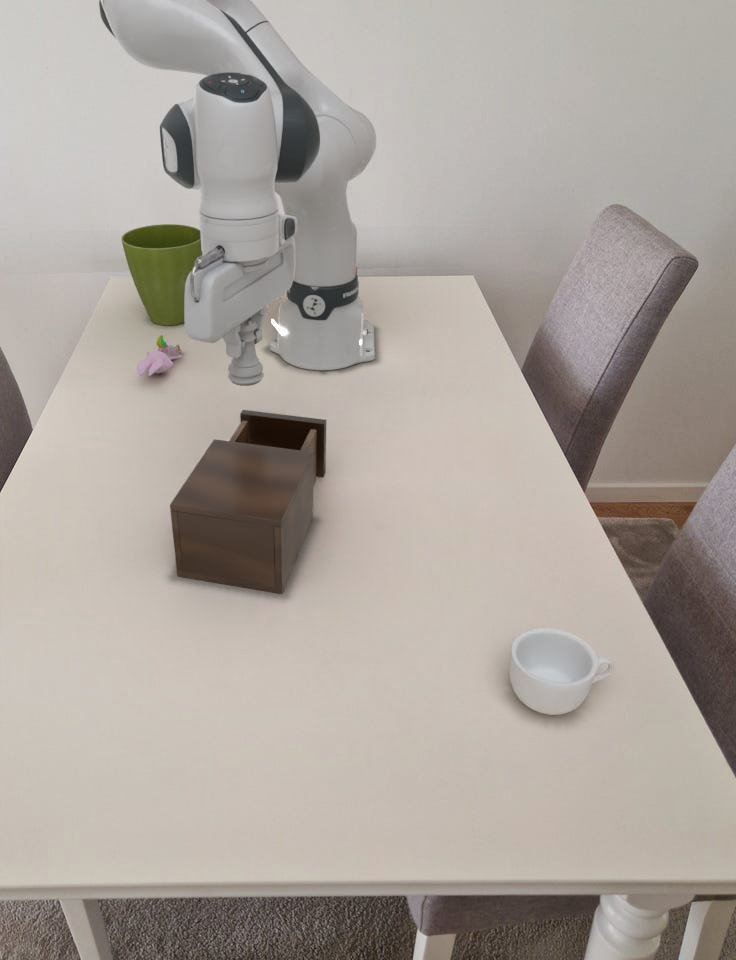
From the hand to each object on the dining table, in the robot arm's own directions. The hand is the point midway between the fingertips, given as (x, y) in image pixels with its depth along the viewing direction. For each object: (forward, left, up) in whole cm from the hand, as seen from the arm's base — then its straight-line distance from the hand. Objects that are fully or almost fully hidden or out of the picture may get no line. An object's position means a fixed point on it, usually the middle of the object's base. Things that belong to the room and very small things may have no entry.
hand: (244, 348), depth 102 cm
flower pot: (-52, -32, -20) cm, 64 cm away
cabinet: (+13, +4, -20) cm, 24 cm away
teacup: (+28, +40, -20) cm, 53 cm away
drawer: (0, +4, -19) cm, 19 cm away
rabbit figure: (-30, -25, -20) cm, 44 cm away
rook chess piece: (0, 0, -4) cm, 4 cm away
